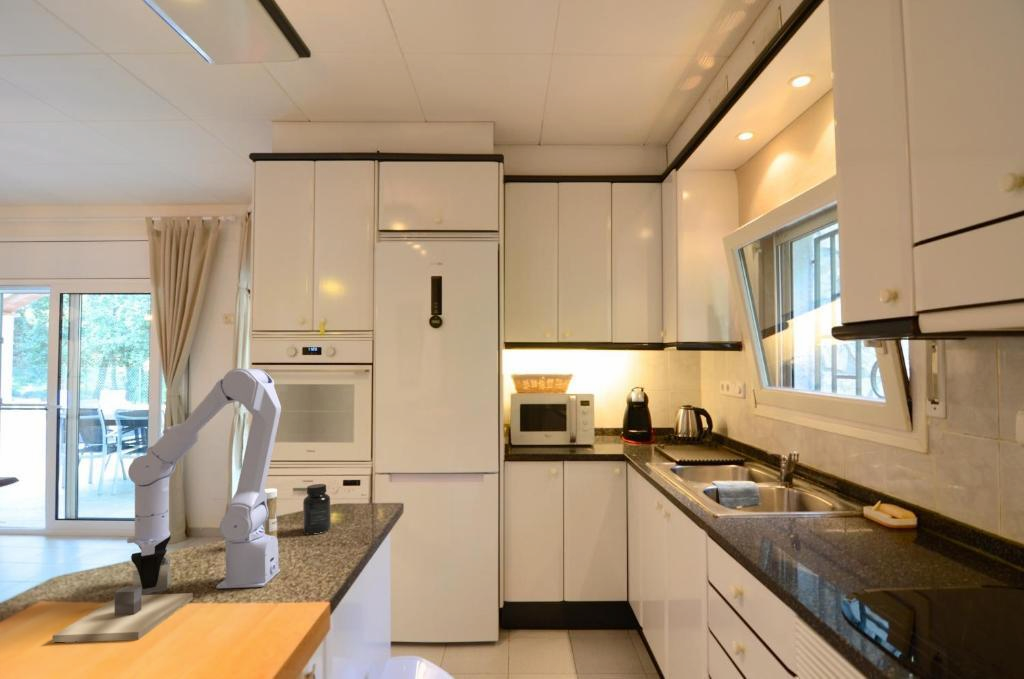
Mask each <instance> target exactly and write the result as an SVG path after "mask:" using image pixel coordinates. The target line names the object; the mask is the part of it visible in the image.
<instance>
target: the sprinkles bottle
mask: <svg viewBox="0 0 1024 679" xmlns="http://www.w3.org/2000/svg"><path fill="white" fill-rule="evenodd" d="M265 492H266V494H267V507H268V518H267V520H266V521H265V523H264V524H263V527H264V530H265V534H266V535H270V536H275V537H276V538H277V540H278V511H277V509H278V508H277V497H278V489H277V488H273V487H271V488H265ZM278 541H279V540H278Z"/></svg>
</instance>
